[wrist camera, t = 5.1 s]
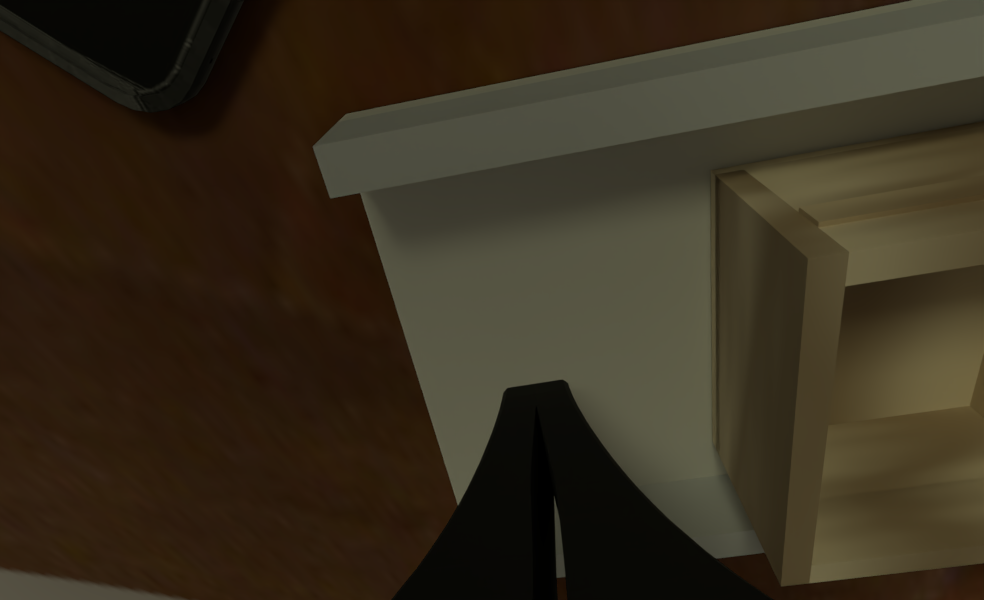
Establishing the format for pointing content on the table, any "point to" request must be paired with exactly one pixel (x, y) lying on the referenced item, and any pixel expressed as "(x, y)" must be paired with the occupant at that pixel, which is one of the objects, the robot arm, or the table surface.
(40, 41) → the phone
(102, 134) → the table surface
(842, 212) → the crate
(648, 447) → the bay
